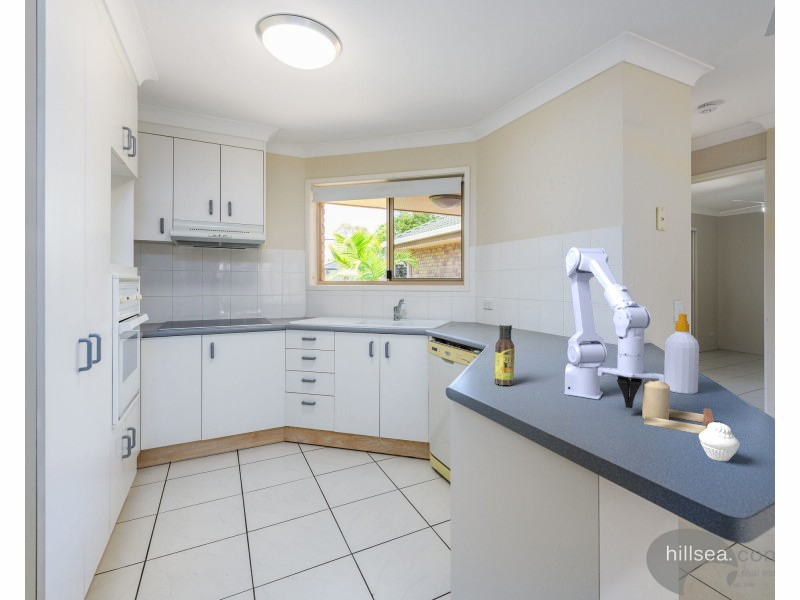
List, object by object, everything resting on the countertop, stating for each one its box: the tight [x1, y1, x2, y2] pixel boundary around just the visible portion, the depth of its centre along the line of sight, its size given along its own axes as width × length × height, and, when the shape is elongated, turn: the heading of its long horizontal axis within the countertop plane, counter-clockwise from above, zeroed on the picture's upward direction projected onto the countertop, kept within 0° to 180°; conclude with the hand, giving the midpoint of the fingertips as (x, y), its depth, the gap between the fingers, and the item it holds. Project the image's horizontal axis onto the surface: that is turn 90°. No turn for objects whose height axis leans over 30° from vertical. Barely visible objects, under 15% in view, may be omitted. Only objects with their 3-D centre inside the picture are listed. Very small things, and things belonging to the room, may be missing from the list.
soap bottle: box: [663, 312, 700, 395], centre depth 122 cm, size 9×9×24 cm
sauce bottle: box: [493, 323, 515, 386], centre depth 130 cm, size 6×6×20 cm
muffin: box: [698, 421, 740, 462], centre depth 76 cm, size 6×6×7 cm
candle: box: [641, 379, 671, 420], centre depth 97 cm, size 6×6×10 cm
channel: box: [643, 407, 715, 435], centre depth 94 cm, size 13×11×3 cm
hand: (629, 407), depth 100 cm, fingers closed
